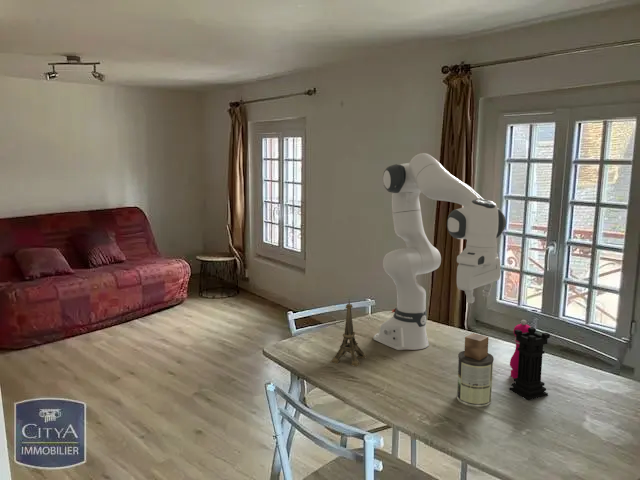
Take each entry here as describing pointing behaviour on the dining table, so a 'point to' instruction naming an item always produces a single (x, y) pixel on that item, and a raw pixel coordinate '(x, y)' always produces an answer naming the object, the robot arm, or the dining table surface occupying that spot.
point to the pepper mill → (515, 357)
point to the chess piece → (530, 364)
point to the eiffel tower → (347, 346)
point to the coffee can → (475, 380)
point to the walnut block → (476, 346)
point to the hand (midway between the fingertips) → (478, 299)
